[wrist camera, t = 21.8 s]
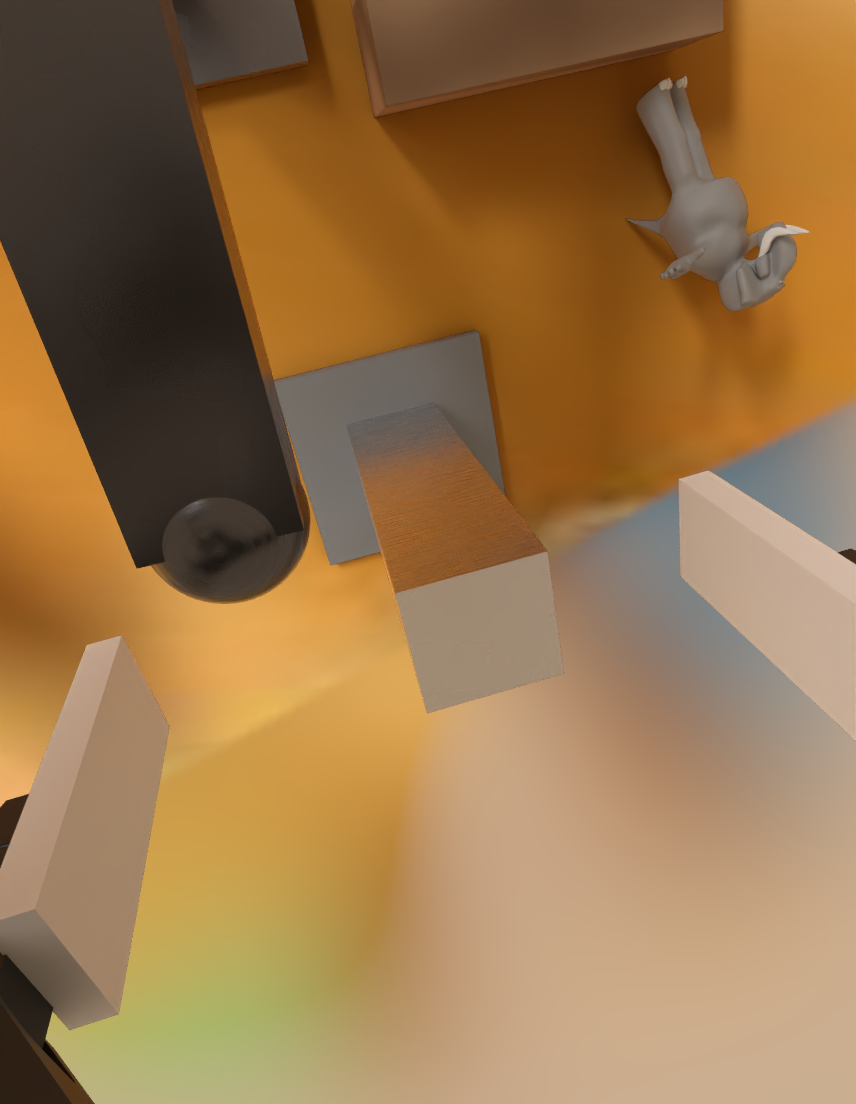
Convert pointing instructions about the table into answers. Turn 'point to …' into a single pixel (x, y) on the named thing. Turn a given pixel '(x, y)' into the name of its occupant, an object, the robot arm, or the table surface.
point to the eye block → (510, 42)
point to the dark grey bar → (145, 292)
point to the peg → (455, 560)
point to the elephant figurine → (709, 210)
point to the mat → (370, 391)
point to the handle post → (239, 38)
